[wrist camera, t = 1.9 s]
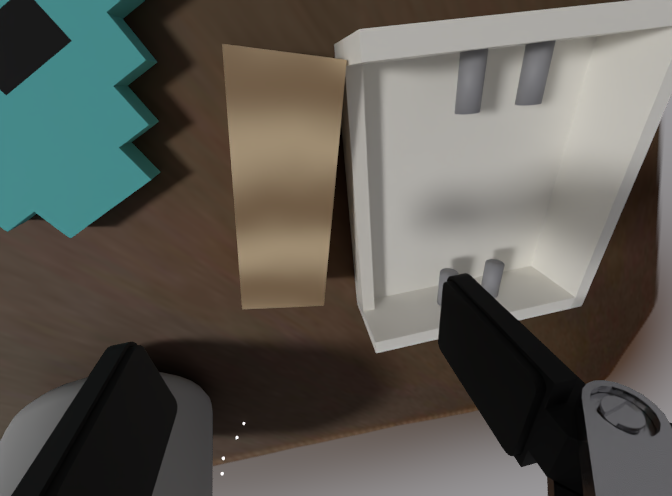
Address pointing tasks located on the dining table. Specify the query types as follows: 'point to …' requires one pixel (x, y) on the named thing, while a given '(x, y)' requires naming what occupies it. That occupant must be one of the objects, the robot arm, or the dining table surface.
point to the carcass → (495, 154)
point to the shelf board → (283, 170)
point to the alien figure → (69, 111)
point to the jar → (179, 459)
